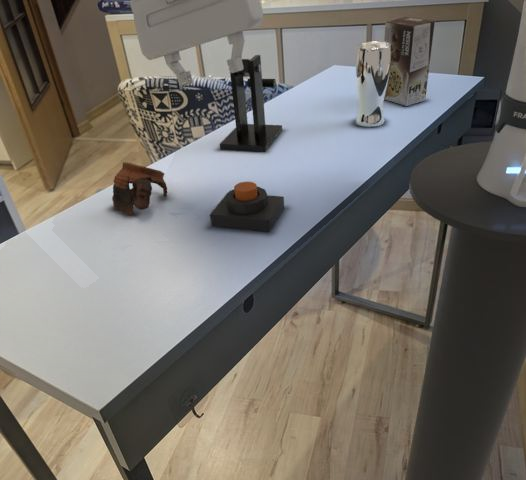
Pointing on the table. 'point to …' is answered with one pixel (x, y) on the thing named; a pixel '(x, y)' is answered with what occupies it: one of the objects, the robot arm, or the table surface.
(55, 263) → the table surface
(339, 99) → the table surface
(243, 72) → the lever handle
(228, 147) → the black headphone stand
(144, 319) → the table surface
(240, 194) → the button
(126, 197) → the brown arched piece
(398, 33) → the coffee box
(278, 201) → the control block
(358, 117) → the beer glass
